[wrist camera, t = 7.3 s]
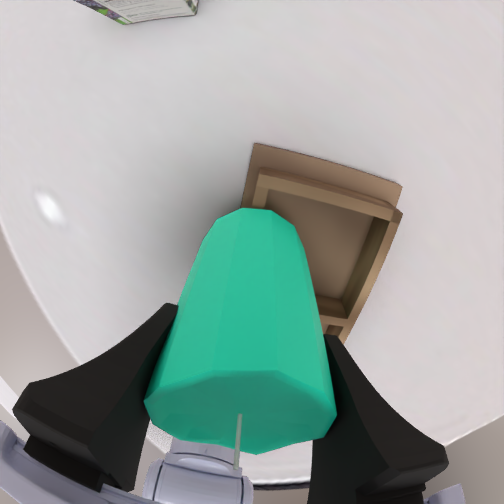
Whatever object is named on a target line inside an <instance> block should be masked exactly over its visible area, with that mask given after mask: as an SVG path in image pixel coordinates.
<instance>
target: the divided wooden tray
mask: <svg viewBox="0 0 504 504" xmlns="http://www.w3.org/2000/svg"><path fill="white" fill-rule="evenodd" d="M401 190H402V186H400V185H399V184H397V183H394V182H392V181H389V180H386V179H383V178H380V177H377V176H374V175H372V174H369V173H365V172H362V171H359V170H356V169H353V168H350V167H347V166H343V165H340V164H337V163H333V162H330V161H326V160H323V159H319V158H316V157H312V156H308V155H304V154H301V153H297V152H293V151H289V150H285V149H280V148H276V147H272V146H267V145H263V144H258V143H254V147H253V151H252V156H251V160H250V165H249V170H248V174H247V179H246V184H245V188H244V193H243V198H242V203H241V207H240V209H241V208H252V209H263V210H272V211H273V212H275V213H276V214H278V215H279V216H281V217H282V218H284V219H285V220H287V221H288V222H289V223H291V224H292V225H294V226H295V229H296V231H297V233H298V236H299V238H300V240H301V242H302V245H303V247H304V250H305V254H306V258H307V263H308V267H309V271H310V276H311V280H312V285H313V289H314V294H315V298H316V303H317V308H318V312H319V317H320V322H321V327H322V332H323V334H329V335H336V336H338V338H339V339H340V341H341V342H342V344H344V342H345V341H346V339H347V337H348V335H349V333H350V331H351V329H352V328H353V326H354V324H355V322H356V320H357V318H358V316H359V314H360V312H361V310H362V308H363V306H364V304H365V302H366V300H367V298H368V296H369V294H370V292H371V290H372V287H373V285H374V283H375V281H376V279H377V277H378V274H379V272H380V270H381V268H382V265H383V263H384V261H385V258H386V256H387V254H388V251H389V249H390V246H391V244H392V241H393V239H394V236H395V234H396V231H397V229H398V226H399V223H400V221H401V218H402V215H403V213H402V212H400V211H399V210H398V209H397V208H396V205H397V202H398V199H399V196H400V193H401Z"/></svg>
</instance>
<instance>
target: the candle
mask: <svg viewBox="0 0 504 504" xmlns="http://www.w3.org/2000/svg"><path fill="white" fill-rule="evenodd" d="M177 305H178V306H179V307H178V312H177V314H176V317H175V320H174V322H173V324H172V327H171V329H170V331H169V334H168V336H167V338H166V341H165V343H164V346H163V348H162V350H161V353H160V355H159V358H158V360H157V363H156V365H155V368H154V371H153V374H152V377H151V380H150V383H149V386H148V389H147V392H146V395H145V398H144V404H145V406H146V409H147V411H148V414H149V416H150V418H151V421H152V423H153V424H154V425H155V426H157V427H158V428H160V429H162V430H163V431H165V432H167V433H168V434H170V435H172V436H174V437H175V438H177V439H179V440H182V441H189V442H197V443H206V444H216V445H220V446H224V447H227V448H231V449H235V454H234V465H233V470H238V465H239V452H240V451H242V452H246V453H250V454H255V455H257V454H261V453H265V452H268V451H272V450H275V449H278V448H282V447H285V446H288V445H291V444H295V443H300V442H305V441H310V440H315V439H319V438H323V437H324V436H325V434H326V433H327V431H328V430H329V428H330V426H331V425H332V423H333V421H334V420H335V418H336V416H337V411H336V405H335V399H334V392H333V386H332V381H331V375H330V369H329V364H328V358H327V353H326V347H325V342H324V337H323V332H322V327H321V322H320V317H319V312H318V308H317V303H316V298H315V294H314V289H313V285H312V280H311V276H310V271H309V267H308V263H307V258H306V254H305V250H304V247H303V245H302V242H301V240H300V238H299V236H298V233H297V231H296V229H295V226H294V225H292V224H291V223H289V222H288V221H287V220H285V219H284V218H282V217H281V216H279V215H278V214H276V213H275V212H273V211H272V210H263V209H252V208H241V209H238V210H236V211H234V212H232V213H229V214H227V215H225V216H223V217H220V218H218V219H217V220H216V221H215V223H214V224H213V226H212V227H211V229H210V230H209V232H208V233H207V235H206V236H205V238H204V239H203V241H202V244H201V246H200V249H199V251H198V254H197V256H196V258H195V261H194V263H193V266H192V268H191V271H190V273H189V276H188V278H187V281H186V284H185V286H184V289H183V291H182V294H181V296H180V299H179V302H178V304H177Z"/></svg>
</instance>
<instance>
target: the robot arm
mask: <svg viewBox="0 0 504 504" xmlns="http://www.w3.org/2000/svg"><path fill="white" fill-rule="evenodd" d="M178 307H179V306H178V305H174V304H170V303H166V304H164V305H163V306H162V307H161V308H160V309H159V310H158V311H157V312H156V313H155V314H154V315H153V316H151V317H150V318H149V319H148V320H147V321H146V322H145V323H144V324H142V325H141V326H140V327H139V328H138V329H136V330H135V331H134V332H133V333H132V334H130V335H129V336H128V337H126V338H125V339H124V340H122V341H121V342H120V343H118V344H117V345H115V346H114V347H112V348H111V349H109V350H108V351H106V352H105V353H103V354H101V355H100V356H98V357H96V358H94V359H92V360H90V361H89V362H87V363H85V364H83V365H81V366H79V367H76V368H74V369H71V370H69V371H67V372H64V373H62V374H59V375H56V376H53V377H50V378H46V379H43V380H39V381H35V382H31V383H29V384H28V386H27V387H26V388H25V389H24V391H23V392H22V394H21V396H20V397H19V399H18V401H17V402H16V404H15V406H14V407H13V409H12V410H13V413H14V416H15V417H16V418H17V420H18V421H19V422H20V423H21V424H22V426H23V427H24V428H25V429H26V430H27V432H28V433H29V434H30V437H29V438H28V441H27V442H24V441H23V440H22V439H20V438H19V437H17V435H16V434H15V433H14V431H13V430H12V429H11V428H10V427H8V426H7V425H6V424H5V423H3V422H2V421H1V420H0V488H1V489H2V490H4V491H5V492H6V493H7V494H9V495H10V496H11V497H12V498H14V499H15V500H16V501H17V502H19V503H20V504H253V485H252V482H251V481H250V480H249V478H248V477H247V476H242V468H241V467H239V465H238V470H233V465H234V454H235V449H231V448H227V447H224V446H220V445H216V444H206V443H197V442H189V441H182V440H179V439H177V438H175V437H174V436H173V440H172V444H171V447H170V451H169V453H168V452H167V453H166V456H165V460H163V459H161V458H158V459H157V460H155V461H153V462H152V463H151V465H150V467H149V469H148V472H147V475H146V479H145V483H144V487H143V493H142V497H139V496H137V495H133V494H131V493H128V492H129V491H132V490H134V486H135V481H136V475H137V470H138V465H139V461H140V456H141V451H142V448H143V444H144V440H145V436H146V432H147V428H148V425H149V421H150V416H149V414H148V411H147V409H146V406H145V404H144V398H145V395H146V392H147V389H148V386H149V383H150V380H151V377H152V374H153V371H154V368H155V365H156V363H157V360H158V358H159V355H160V353H161V350H162V348H163V346H164V343H165V341H166V338H167V336H168V334H169V331H170V329H171V327H172V324H173V322H174V320H175V317H176V314H177V312H178ZM323 337H324V342H325V347H326V353H327V358H328V364H329V369H330V375H331V381H332V386H333V392H334V399H335V405H336V411H337V416H336V418H335V420H334V421H333V423H332V425H331V426H330V428H329V430H328V431H327V433H326V434H325V436H324V437H323V438H319V439H315V440H313V448H312V468H311V479H310V488H309V495H308V501H307V504H466V503H465V498H464V495H463V490H462V486H461V484H460V483H459V484H456V485H454V486H451V487H448V488H446V489H443V490H441V491H439V492H437V493H435V494H433V495H431V496H430V497H428V498H425V499H423V496H422V491H424V490H425V489H426V487H425V482H427V481H429V480H430V479H432V478H433V477H435V476H436V475H438V474H439V473H441V472H442V471H444V470H445V469H446V468H447V466H448V464H449V461H448V458H447V454H446V451H445V448H444V446H443V445H441V444H439V443H438V442H436V441H434V440H433V439H431V438H429V437H428V436H426V435H425V434H423V433H422V432H420V431H419V430H418V429H416V428H415V427H414V426H412V425H411V424H410V423H409V422H407V421H406V420H405V419H404V418H403V417H402V416H400V415H399V414H398V413H397V412H396V411H395V410H394V409H393V408H392V407H391V406H390V405H389V404H388V403H387V402H386V401H385V400H384V399H383V398H382V397H381V395H380V394H379V393H378V392H377V391H376V390H375V388H374V387H373V386H372V385H371V383H370V382H369V381H368V379H367V378H366V377H365V375H364V374H363V373H362V371H361V370H360V369H359V367H358V366H357V364H356V363H355V361H354V360H353V358H352V357H351V355H350V354H349V353H348V351H347V350H346V348H345V347H344V345H343V344H342V342H341V341H340V339H339V338H338V336H336V335H329V334H323ZM239 457H240V452H239Z"/></svg>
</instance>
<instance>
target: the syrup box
mask: <svg viewBox="0 0 504 504" xmlns="http://www.w3.org/2000/svg"><path fill="white" fill-rule="evenodd" d="M74 1H76V2H78V3H80V4H83V5H85V6H87V7H89V8H91V9H94V10H95V11H97V12H99V13H102V14H103V15H105V16H107V17H109V18H111V19H113V20H115V21H117V22H119V23H120V24H123V25H124V24H129V23H135V22H140V21H146V20H153V19H160V18H168V17H176V16H187V15H195V14H196V11H197V5H198V0H74Z"/></svg>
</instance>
